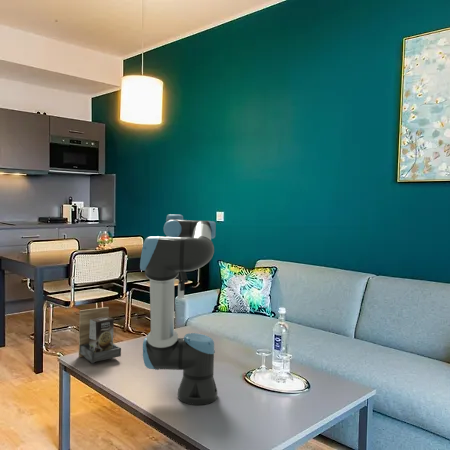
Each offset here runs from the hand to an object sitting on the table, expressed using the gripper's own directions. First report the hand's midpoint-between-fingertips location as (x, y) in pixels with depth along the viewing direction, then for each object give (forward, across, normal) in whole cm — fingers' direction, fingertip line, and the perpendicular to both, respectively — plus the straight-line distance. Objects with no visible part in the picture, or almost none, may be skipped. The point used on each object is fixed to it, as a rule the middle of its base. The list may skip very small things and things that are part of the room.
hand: (172, 295), depth 200 cm
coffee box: (+29, +22, +24) cm, 43 cm away
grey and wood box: (+32, +23, +24) cm, 46 cm away
